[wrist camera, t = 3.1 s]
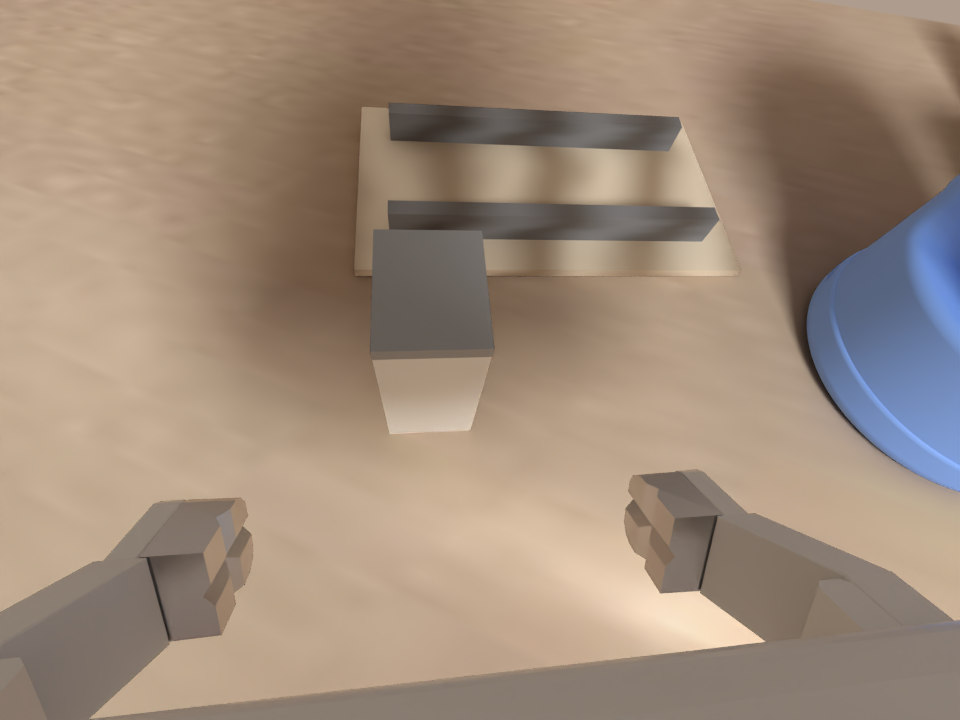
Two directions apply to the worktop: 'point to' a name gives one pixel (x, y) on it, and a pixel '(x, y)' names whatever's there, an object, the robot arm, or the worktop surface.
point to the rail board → (542, 190)
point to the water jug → (898, 339)
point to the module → (430, 327)
